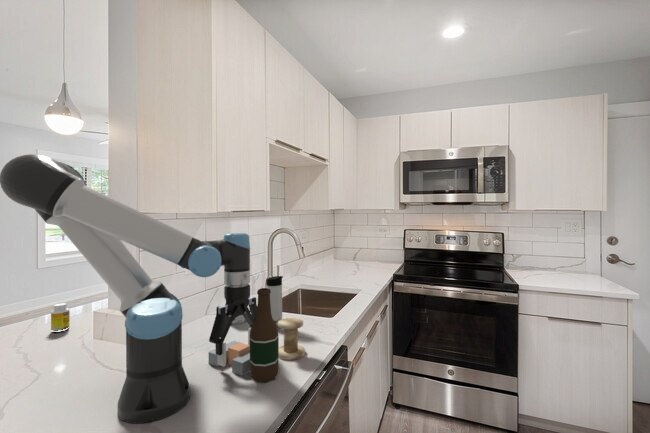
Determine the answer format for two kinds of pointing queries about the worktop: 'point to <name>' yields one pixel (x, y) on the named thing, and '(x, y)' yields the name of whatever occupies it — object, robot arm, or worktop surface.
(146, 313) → the robot arm
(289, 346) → the bobbin
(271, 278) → the travel mug
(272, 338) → the beer bottle
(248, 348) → the block
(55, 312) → the supplement bottle
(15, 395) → the worktop surface
